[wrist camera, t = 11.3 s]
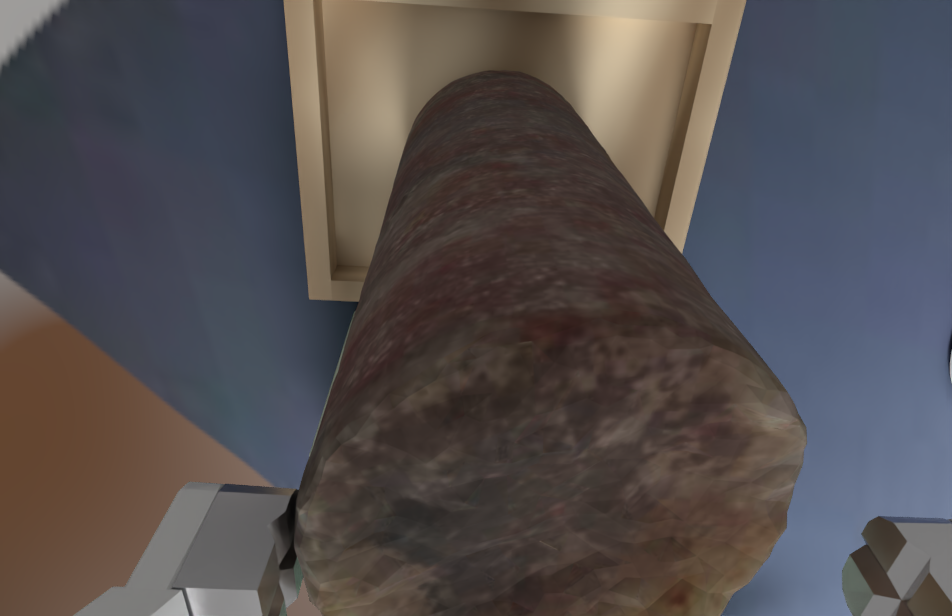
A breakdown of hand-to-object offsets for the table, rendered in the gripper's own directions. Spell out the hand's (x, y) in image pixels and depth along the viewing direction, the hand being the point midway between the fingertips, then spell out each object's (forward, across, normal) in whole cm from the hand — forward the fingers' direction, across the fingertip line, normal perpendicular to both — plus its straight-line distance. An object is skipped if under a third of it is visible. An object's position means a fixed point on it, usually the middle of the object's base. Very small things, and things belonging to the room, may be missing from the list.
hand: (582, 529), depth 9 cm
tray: (+20, +1, 0) cm, 20 cm away
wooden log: (+19, +1, 0) cm, 19 cm away
